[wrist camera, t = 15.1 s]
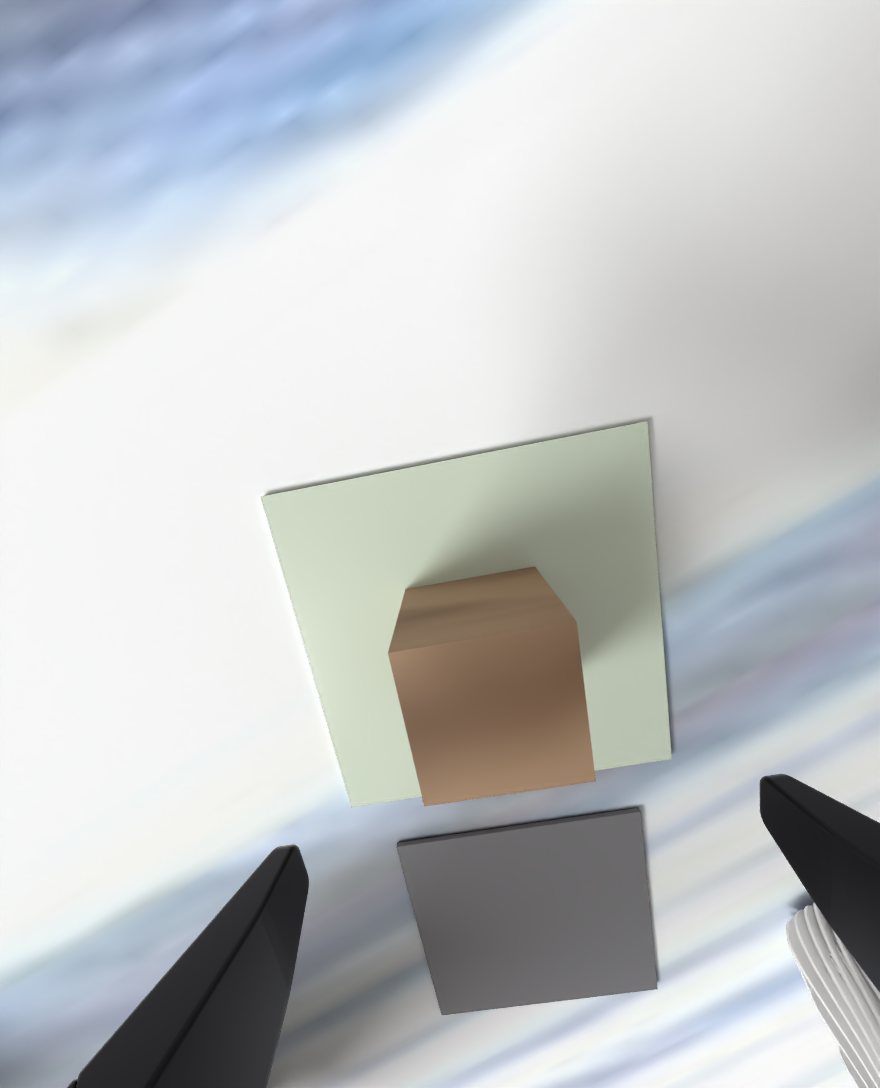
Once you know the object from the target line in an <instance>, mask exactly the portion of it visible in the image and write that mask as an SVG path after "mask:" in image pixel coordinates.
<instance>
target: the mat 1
mask: <svg viewBox="0 0 880 1088" xmlns="http://www.w3.org/2000/svg"><path fill="white" fill-rule="evenodd" d="M261 500H262V503H263V506H264V510H265V513H266V517H267V520H268V524H269V527H270V530H271V534H272V537H273V541H274V544H275V547H276V551H277V554H278V558H279V561H280V565H281V568H282V571H283V575H284V578H285V582H286V585H287V588H288V592H289V595H290V599H291V602H292V606H293V609H294V612H295V616H296V619H297V623H298V626H299V629H300V633H301V636H302V640H303V643H304V647H305V650H306V653H307V657H308V660H309V664H310V667H311V671H312V674H313V677H314V681H315V684H316V688H317V691H318V694H319V698H320V701H321V705H322V708H323V712H324V715H325V718H326V722H327V725H328V729H329V732H330V735H331V739H332V742H333V746H334V749H335V753H336V756H337V759H338V763H339V766H340V770H341V773H342V776H343V780H344V783H345V787H346V790H347V794H348V797H349V800H350V804H351V807H356V806H363V805H370V804H376V803H383V802H390V801H396V800H403V799H409V798H416V797H422V794H421V790H420V786H419V782H418V778H417V773H416V769H415V765H414V761H413V757H412V752H411V748H410V744H409V740H408V736H407V732H406V727H405V723H404V719H403V715H402V711H401V706H400V702H399V698H398V694H397V690H396V685H395V681H394V677H393V673H392V669H391V664H390V660H389V656H388V651H389V647H390V643H391V640H392V636H393V632H394V629H395V625H396V621H397V618H398V614H399V610H400V607H401V603H402V600H403V596H404V592H405V589H409V588H414V587H420V586H426V585H431V584H437V583H443V582H449V581H454V580H460V579H466V578H471V577H477V576H483V575H488V574H494V573H500V572H506V571H511V570H517V569H523V568H528V567H534V566H535V567H536V568H537V570H538V571H539V572H540V574H541V575H542V576H543V578H544V579H545V580H546V582H547V583H548V584H549V586H550V587H551V588H552V590H553V591H554V592H555V594H556V595H557V596H558V597H559V599H560V600H561V601H562V603H563V604H564V605H565V607H566V608H567V609H568V611H569V612H570V613H571V615H572V616H573V617H574V619H575V620H576V621H577V628H578V636H579V645H580V653H581V662H582V670H583V678H584V687H585V695H586V703H587V712H588V720H589V729H590V737H591V745H592V754H593V762H594V770H602V769H609V768H615V767H622V766H629V765H635V764H642V763H649V762H655V761H662V760H669V759H672V757H671V743H670V729H669V715H668V701H667V687H666V673H665V659H664V645H663V631H662V617H661V604H660V590H659V576H658V562H657V548H656V534H655V520H654V506H653V492H652V478H651V464H650V450H649V436H648V422H647V421H646V422H640V423H635V424H630V425H625V426H620V427H615V428H609V429H604V430H599V431H594V432H589V433H584V434H579V435H574V436H568V437H563V438H558V439H553V440H548V441H543V442H538V443H533V444H527V445H522V446H517V447H512V448H507V449H502V450H497V451H491V452H486V453H481V454H476V455H471V456H466V457H461V458H456V459H450V460H445V461H440V462H435V463H430V464H425V465H420V466H415V467H409V468H404V469H399V470H394V471H389V472H384V473H379V474H374V475H368V476H363V477H358V478H353V479H348V480H343V481H338V482H333V483H327V484H322V485H317V486H312V487H307V488H302V489H297V490H291V491H286V492H281V493H276V494H271V495H266V496H261Z"/></svg>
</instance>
